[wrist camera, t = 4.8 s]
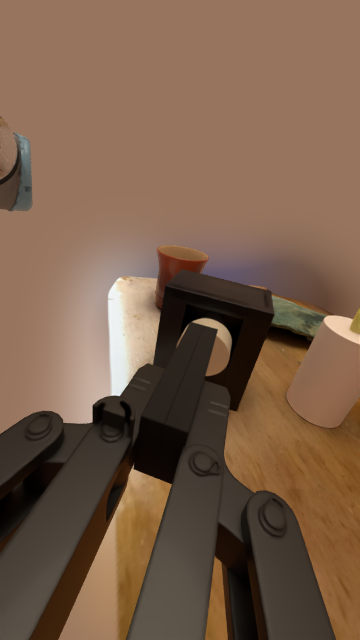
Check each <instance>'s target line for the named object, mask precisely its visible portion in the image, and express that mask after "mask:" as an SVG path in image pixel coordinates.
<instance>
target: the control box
mask: <svg viewBox="0 0 360 640" xmlns="http://www.w3.org/2000/svg"><path fill="white" fill-rule="evenodd" d="M209 312H216V313H218V314H220V315H221V316H222V317H223V319H224V326H225V327H226V328H227V330H228V331H229V333H230V335H231V339H232V345H231V351H230V357H229V362H228V364H227V366H226V367H225V369H224V370H222V371H221V372H220V373H218V374H215V375H211V376H205V379H204V380H205V381H208V382H211V383H214V384H217V385H220V386H224V387H227V389H228V392H229V395H230V397H231V399H230V407H229V409H231V410H234V411H237V409H238V406H239V404H240V401H241V399H242V396H243V394H244V391H245V389H246V386H247V384H248V381H249V378H250V376H251V373H252V371H253V368H254V366H255V363H256V361H257V358H258V356H259V353H260V351H261V348H262V346H263V343H264V341H265V338H266V336H267V333H268V331H269V328H270V325H271V323H272V320H273V318H274V315H275V312H274V307H273V300H272V293H271V291H268V290H264V289H260V288H256V287H252V286H248V285H244V284H239V283H235V282H231V281H227V280H224V279H220V278H216V277H212V276H208V275H203V274H200V273H196V272H192V271H187V270H183V269H181V270H180V271H179V272H178V273H177V274H176V275H175V276H174V277H173V278H172V279H171V280H170V281H169V282H168V283H167V284H166V285H165V288H164V295H163V302H162V308H161V315H160V322H159V329H158V335H157V342H156V349H155V356H154V363H153V365H155V366H158V367H161V368H164V369H166V367H167V365H168V363H169V361H170V359H171V357H172V356H173V354H174V352H175V350H176V348H177V343H178V341H179V339H180V337H181V336H182V334H183V332H184V330H185V328H186V327H187V326H188V324H189V323H190V322H192V321H194V320H197V319H202V318H203V316H204V315H205V314H207V313H209Z"/></svg>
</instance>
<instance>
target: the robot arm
mask: <svg viewBox="0 0 360 640" xmlns="http://www.w3.org/2000/svg"><path fill="white" fill-rule="evenodd" d="M31 179H32V178H31V152H30V142H29V140H28V139H27V138H26V137H24V136H21V135H19V134H18V133H12V131H11V129H10V128H9V126H8V125H7V123H6V122H5V121H4V120H3V119H2V117H0V209H6V210H8V211H14V210H18V211H28V210H29V209H31V207H32V180H31ZM217 332H218V329H215V328H212V327H208V326H205V325H201V324H197V323H194V322H190V323H189V325H188V327H187V329H186V331H185V333H184V335H183V337H182V339H181V340H180V342H179V344H178V346H177V348H176V350H175V352H174V354H173V356H172V357H171V359H170V361H169V363H168V365H167V367H166V369H164V368H161V367H158V366H155V365H151V364H146V365H144V366H143V367H141V368H139V369H138V371H137V372H136V374H135V375H134V376H133V379H131V381H130V382H129V384H128V386H127V387H126V388H125V390H124V391H123V392H122V394H121V395H120V396H108V397H105V398H102V399H100V400H98V401H97V402H96V403H95V404H94V405H93V422H92V423H87V424H74V423H63V419H62V418H61V417H60V415H58V414H57V413H54V412H52V411H41V412H36V413H33V414H31V415H29V416H27V417H25V418H23V419H22V420H20V421H19V422H18V423H16V424H15V425H13V426H12V427H10V428H9V429H7V430H6V431H4V432H3V433H1V434H0V640H58V639H59V637H60V634H61V632H62V630H63V627H64V625H65V623H66V621H67V619H68V617H69V614H70V612H71V610H72V607H73V605H74V603H75V601H76V599H77V596H78V594H79V592H80V590H81V587H82V585H83V583H84V581H85V578H86V576H87V574H88V571H89V569H90V567H91V565H92V563H93V560H94V558H95V556H96V554H97V551H98V549H99V547H100V545H101V542H102V540H103V538H104V536H105V533H106V531H107V529H108V527H109V525H110V522H111V520H112V518H113V516H114V513H115V511H116V509H117V507H118V504H119V502H120V500H121V498H122V495H123V493H124V491H125V489H126V486H127V482H128V476H129V473H130V471H131V469H132V467H133V465H134V470H137V471H140V472H142V473H145V474H147V475H150V476H152V477H155V478H157V479H160V480H162V481H165V482H168V483H170V484H172V486H171V489H170V492H169V496H168V499H167V503H166V506H165V509H164V513H163V516H162V519H161V523H160V526H159V530H158V533H157V536H156V540H155V543H154V546H153V550H152V553H151V557H150V560H149V563H148V567H147V570H146V573H145V577H144V580H143V584H142V587H141V590H140V594H139V597H138V600H137V604H136V607H135V611H134V614H133V617H132V621H131V624H130V627H129V631H128V634H127V638H126V640H205V633H206V625H207V616H208V608H209V599H210V591H211V582H212V574H213V565H214V557H216V558H217V559H219V560H220V561H221V562H222V573H223V585H224V597H225V608H226V620H227V632H228V640H336V638H335V635H334V632H333V629H332V626H331V623H330V619H329V616H328V613H327V610H326V607H325V604H324V601H323V598H322V595H321V592H320V589H319V585H318V582H317V579H316V576H315V573H314V570H313V567H312V564H311V561H310V558H309V554H308V551H307V548H306V545H305V542H304V539H303V536H302V533H301V530H300V527H299V524H298V521H297V519H296V517H295V515H294V512H293V510H292V509H291V508H290V507H289V505H288V504H287V503H286V502H285V501H284V500H283V499H282V498H280V497H279V496H278V495H276V494H275V493H272V492H269V491H266V490H265V491H257V492H255V493H254V492H252V491H251V490H250V489H248V488H247V487H246V486H244V485H243V484H242V483H240V482H239V481H238V480H237V479H236V478H235V477H234V476H233V475H232V474H231V472H230V471H229V469H228V467H227V465H226V463H225V459H224V447H225V439H226V431H227V423H228V415H229V407H230V399H231V397H230V395H229V392H228V389H227V387H224V386H220V385H217V384H214V383H211V382H208V381H205V380H204V379H205V375H206V372H207V368H208V364H209V361H210V357H211V354H212V350H213V346H214V343H215V339H216V336H217ZM134 462H135V463H134Z"/></svg>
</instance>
